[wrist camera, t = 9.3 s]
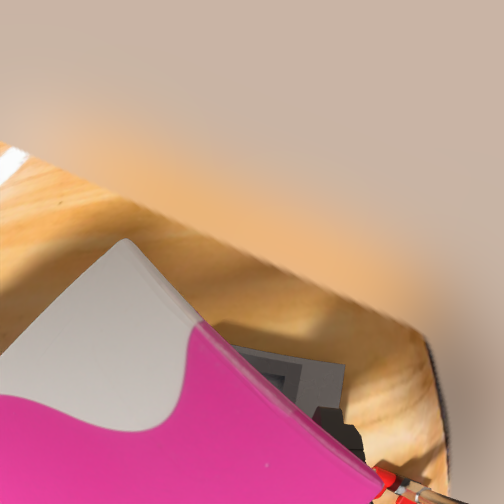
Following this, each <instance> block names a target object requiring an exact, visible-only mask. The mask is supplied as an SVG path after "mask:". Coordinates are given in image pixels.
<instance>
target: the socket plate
mask: <svg viewBox="0 0 504 504" xmlns="http://www.w3.org/2000/svg"><path fill="white" fill-rule="evenodd" d="M230 345H231V344H230ZM231 346H232V347H233V348H234V349H235V350H236V351H237V352H238V353H239V354H240V355H241V356H242V357H243V358H244V359H245V360H246V361H248V362H249V363H250V364H251V365H252V366H253V367H254V368H255V369H256V370H257V371H258V372H259V373H260V374H262V375H263V376H264V377H265V378H266V379H267V380H268V381H269V382H270V383H271V384H272V385H274V386H275V387H276V388H277V389H278V390H279V391H280V392H281V393H283V394H284V395H285V396H286V397H287V398H288V399H289V400H290V401H291V402H293V403H294V404H295V405H296V406H297V407H298V408H299V409H301V410H302V411H303V412H304V413H305V414H306V415H307V416H309V417H310V418H311V419H312V417H313V415H314V412H315V410H316V408H317V407H318V406H321V407H330V408H339V403H340V397H341V391H342V385H343V378H344V371H345V365H343V364H336V363H329V362H322V361H316V360H309V359H303V358H297V357H291V356H286V355H280V354H275V353H269V352H264V351H259V350H254V349H250V348H245V347H240V346H236V345H231Z"/></svg>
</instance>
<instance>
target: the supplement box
mask: <svg viewBox="0 0 504 504" xmlns="http://www.w3.org/2000/svg"><path fill="white" fill-rule="evenodd" d="M384 485H385V484H384V482H383V481H382V479H381V478H380V477H379V476H378V474H377V473H376V472H375V471H374V470H373V469H372V468H370V467H369V466H368V465H367V464H365V463H364V462H363V461H362V460H360V459H359V458H358V457H357V456H355V455H354V454H353V453H352V452H351V451H349V450H348V449H347V448H346V447H345V446H343V445H342V444H341V443H340V442H338V441H337V440H336V439H335V438H333V437H332V436H331V435H330V434H329V433H327V432H326V431H325V430H324V429H323V428H321V427H320V426H319V425H318V424H317V423H316V422H314V421H313V420H312V419H311V418H310V417H309V416H307V415H306V414H305V413H304V412H303V411H302V410H301V409H299V408H298V407H297V406H296V405H295V404H294V403H293V402H291V401H290V400H289V399H288V398H287V397H286V396H285V395H284V394H283V393H281V392H280V391H279V390H278V389H277V388H276V387H275V386H274V385H272V384H271V383H270V382H269V381H268V380H267V379H266V378H265V377H264V376H263V375H262V374H260V373H259V372H258V371H257V370H256V369H255V368H254V367H253V366H252V365H251V364H250V363H249V362H248V361H246V360H245V359H244V358H243V357H242V356H241V355H240V354H239V353H238V352H237V351H236V350H235V349H234V348H233V347H232V346H231V345H230V344H229V343H228V342H227V341H226V340H225V339H224V338H223V337H222V336H221V335H220V334H219V333H218V332H216V331H215V330H214V329H213V328H212V327H211V326H210V325H209V324H208V323H207V322H206V321H205V320H204V319H203V318H202V317H201V316H200V314H199V313H198V312H197V311H196V310H195V309H194V308H193V307H192V306H191V305H190V304H189V303H188V302H187V301H186V300H185V299H184V298H183V297H182V296H181V295H180V293H179V292H178V291H177V290H176V289H175V288H174V287H173V286H172V285H171V284H170V283H169V282H168V281H167V279H166V278H165V277H164V276H163V275H162V274H161V273H160V272H159V271H158V269H157V268H156V267H155V266H154V265H153V264H152V263H151V262H150V260H149V259H148V258H147V257H146V256H145V255H144V254H143V253H142V252H141V250H140V249H139V248H138V247H137V246H136V245H135V244H134V243H133V242H132V241H131V240H129V239H128V238H124V239H122V240H120V241H118V242H117V243H116V244H115V245H114V246H113V247H111V248H110V249H109V250H108V251H107V252H106V253H105V254H104V255H103V256H101V257H100V258H99V259H98V260H97V261H96V262H95V263H93V264H92V265H91V266H90V267H89V268H88V269H87V270H86V271H85V272H84V273H83V274H81V275H80V276H79V277H78V278H77V279H76V280H75V281H74V282H73V283H72V284H71V285H70V286H69V287H68V288H67V289H65V290H64V291H63V292H62V293H61V294H60V295H59V296H58V297H57V298H56V299H55V300H54V301H53V302H52V303H51V304H50V305H49V306H48V307H47V308H46V309H45V310H44V311H43V312H42V313H41V314H40V315H39V316H38V317H37V318H36V319H35V320H34V321H33V322H32V323H31V324H30V325H29V327H28V328H27V329H26V330H25V331H24V332H23V333H22V334H21V335H20V336H19V337H18V338H17V339H16V340H15V341H14V342H13V343H12V344H11V345H10V346H9V347H8V348H7V349H6V350H5V351H4V352H3V353H2V355H1V356H0V504H369V503H370V502H371V501H372V500H373V499H374V498H375V497H376V496H377V495H378V494H379V493H380V492H381V490H382V489H383V487H384Z"/></svg>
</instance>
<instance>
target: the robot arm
mask: <svg viewBox="0 0 504 504" xmlns="http://www.w3.org/2000/svg"><path fill="white" fill-rule="evenodd" d="M312 420H313V421H314V422H316V423H317V424H318V425H319V426H320V427H321V428H323V429H324V430H325V431H326V432H327V433H329V434H330V435H331V436H332V437H333V438H335V439H336V440H337V441H338V442H340V443H341V444H342V445H343V446H345V447H346V448H347V449H348V450H349V451H351V452H352V453H353V454H354V455H355V456H357V457H358V458H359V459H360V460H362V461H363V462H364V463H365V464H366V462H365V460H366V459H365V454H364V452H363V450H364V448H363V443H362V438H361V435H360V434H359V432H358V431H357V430H356V428H355V427H354V425H348V424H344V421H343V415H342V410H341V409H340V408H330V407H321V406H318V407H317V408H316V410H315V412H314V415H313V417H312ZM369 504H373V502H372V501H371V502H370V503H369Z"/></svg>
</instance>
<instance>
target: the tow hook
mask: <svg viewBox="0 0 504 504" xmlns="http://www.w3.org/2000/svg"><path fill="white" fill-rule="evenodd" d="M372 469H373V470H374V471H375V472H376V473H377V474H378V476H379V477H380V478H381V479H382V481H383V482H384V484H385V485H384V487H383V489H382V490H381V492H380V493H379V494H378V495H377V496H376V497H375V498H374V499H377V498H379V497H381V495H382V494H383V493H384V491H385V490H386V489H388V490H390V491H392V492H393V493H395V494H398V495H400V496H399V498H398V499H397V501H396V504H417V503H419V504H468V503H465V502H462V501H459V500H456V499H453V498H450V497H447V496H444V495H442V494H439V493H436V492H434V491H431V488H428V487H427V486H424V485H421V483H418V482H416V481H413V480H411V479H408V478H406V477H403V476H401V475H398V474H393V473H391V472H389V471H386V470H384V469H382V468H379V467H377V466H375V467H373V468H372Z"/></svg>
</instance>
